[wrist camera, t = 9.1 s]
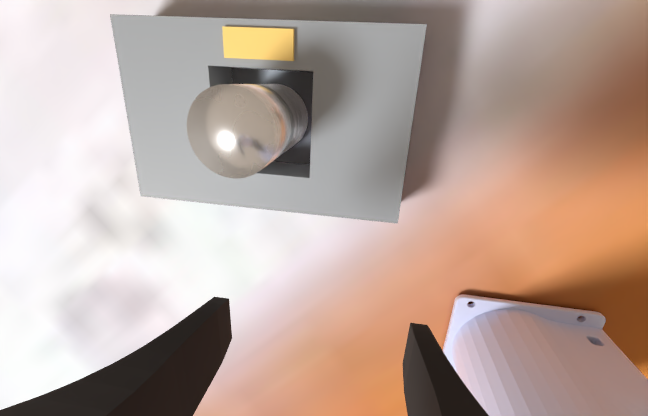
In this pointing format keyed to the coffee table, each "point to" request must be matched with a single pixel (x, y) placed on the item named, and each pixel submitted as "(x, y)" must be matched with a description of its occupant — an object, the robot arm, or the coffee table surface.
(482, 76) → the coffee table surface
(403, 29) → the hole board
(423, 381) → the robot arm
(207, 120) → the metal peg
